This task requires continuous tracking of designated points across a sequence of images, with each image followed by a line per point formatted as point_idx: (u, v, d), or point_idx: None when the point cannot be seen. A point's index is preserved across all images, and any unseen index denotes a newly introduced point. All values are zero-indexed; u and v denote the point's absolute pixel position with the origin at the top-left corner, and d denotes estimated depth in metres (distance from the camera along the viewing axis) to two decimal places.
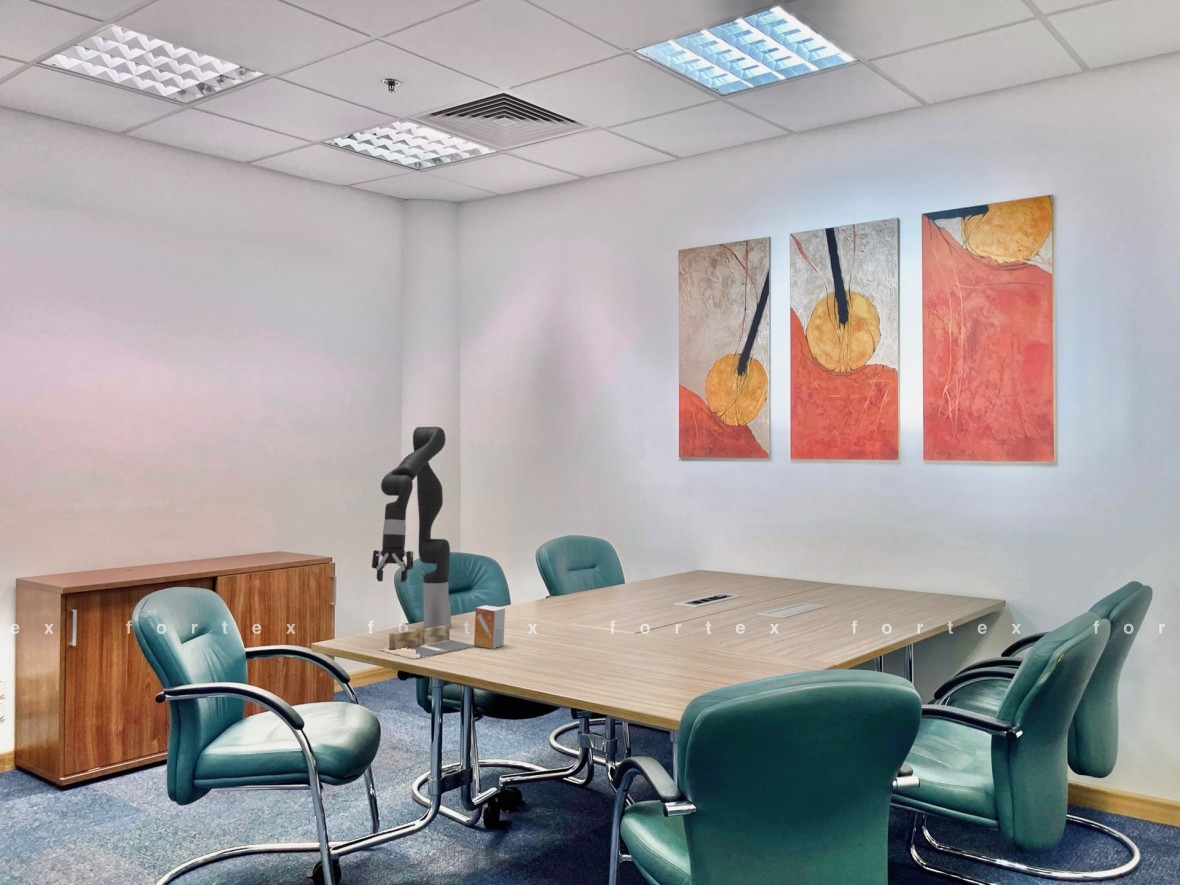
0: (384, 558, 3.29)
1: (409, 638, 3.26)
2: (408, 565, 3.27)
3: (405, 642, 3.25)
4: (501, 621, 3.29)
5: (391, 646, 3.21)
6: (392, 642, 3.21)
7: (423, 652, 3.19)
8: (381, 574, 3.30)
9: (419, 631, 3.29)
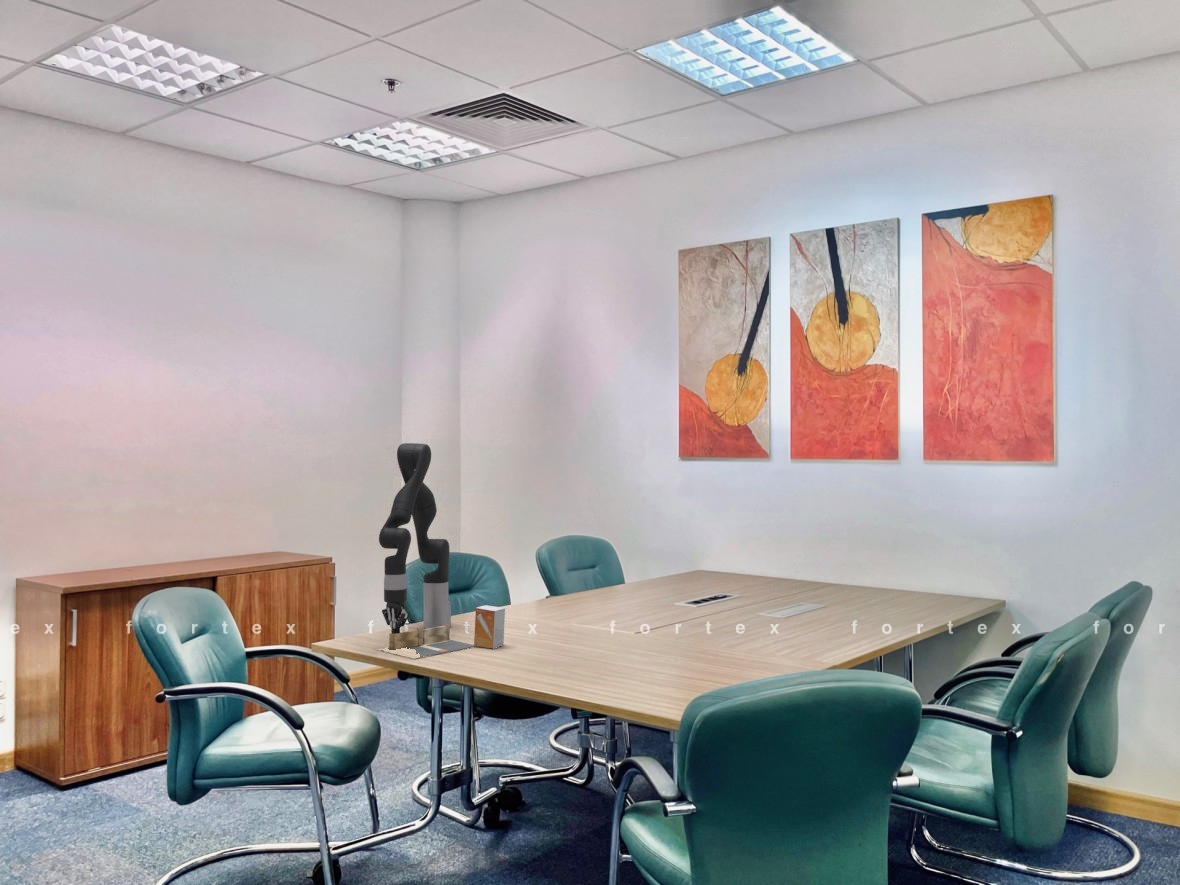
0: (389, 613, 3.26)
1: (409, 638, 3.26)
2: (397, 623, 3.23)
3: (405, 642, 3.25)
4: (501, 621, 3.29)
5: (391, 646, 3.21)
6: (392, 642, 3.21)
7: (423, 652, 3.19)
8: None
9: (419, 631, 3.29)
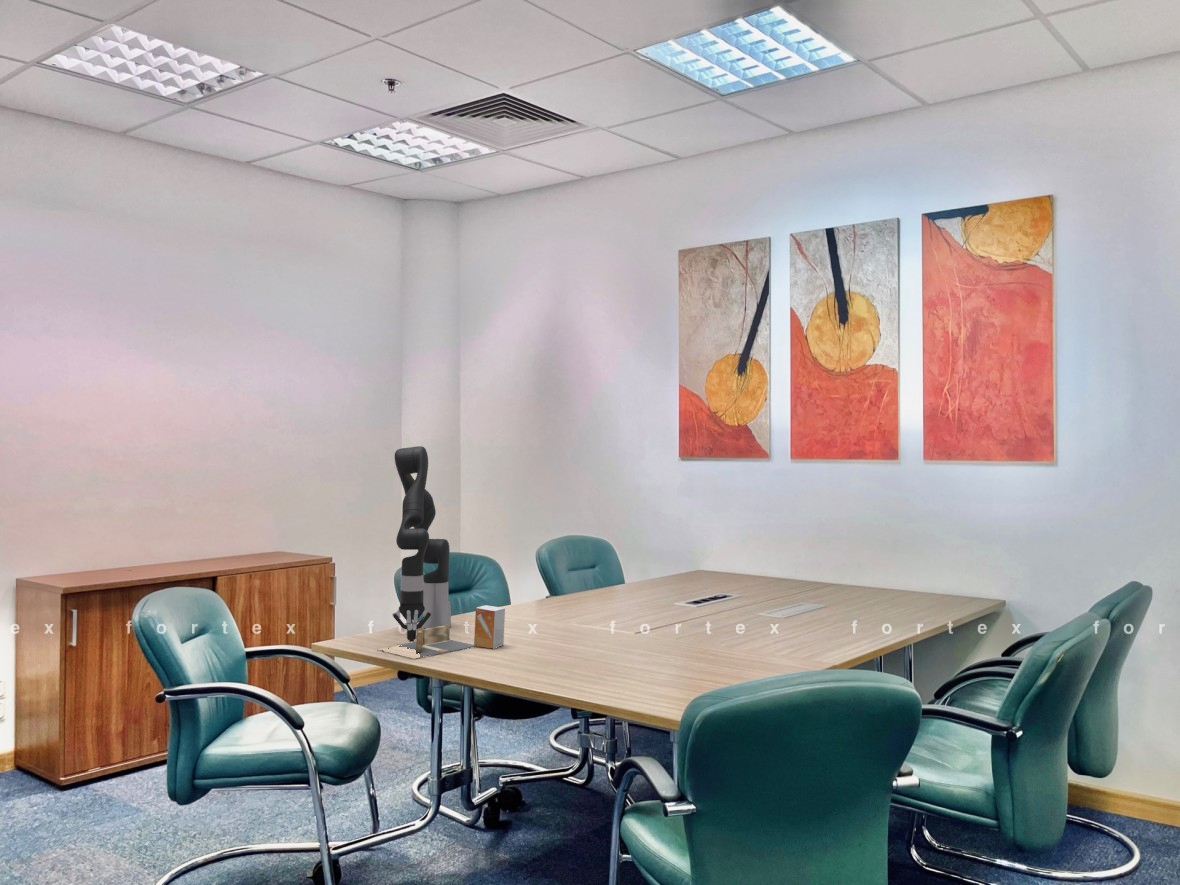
0: (408, 616, 3.20)
1: None
2: (420, 624, 3.21)
3: None
4: (501, 621, 3.29)
5: (421, 648, 3.18)
6: (421, 643, 3.19)
7: (423, 652, 3.19)
8: None
9: None
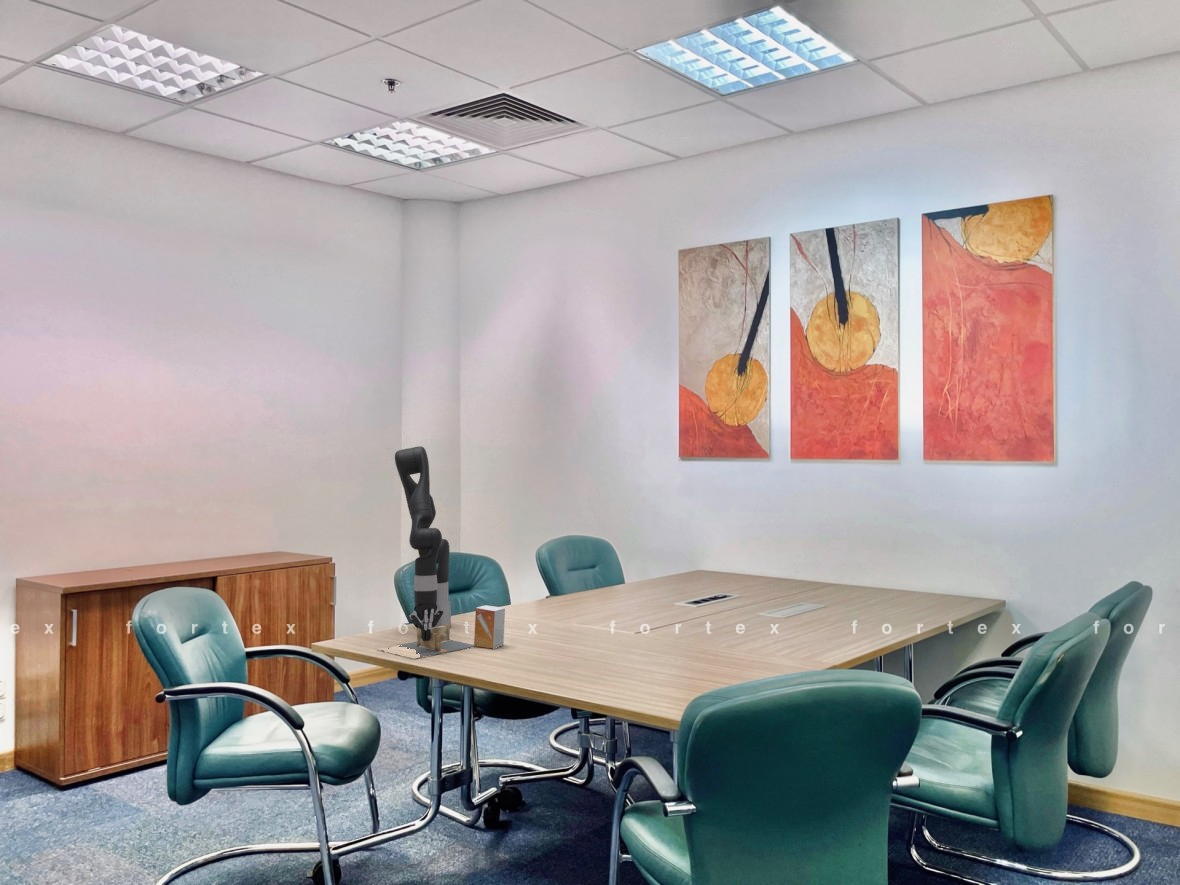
0: (425, 616, 3.20)
1: None
2: (434, 623, 3.23)
3: None
4: (501, 621, 3.29)
5: (440, 645, 3.21)
6: (440, 641, 3.22)
7: (423, 652, 3.19)
8: None
9: (419, 631, 3.29)
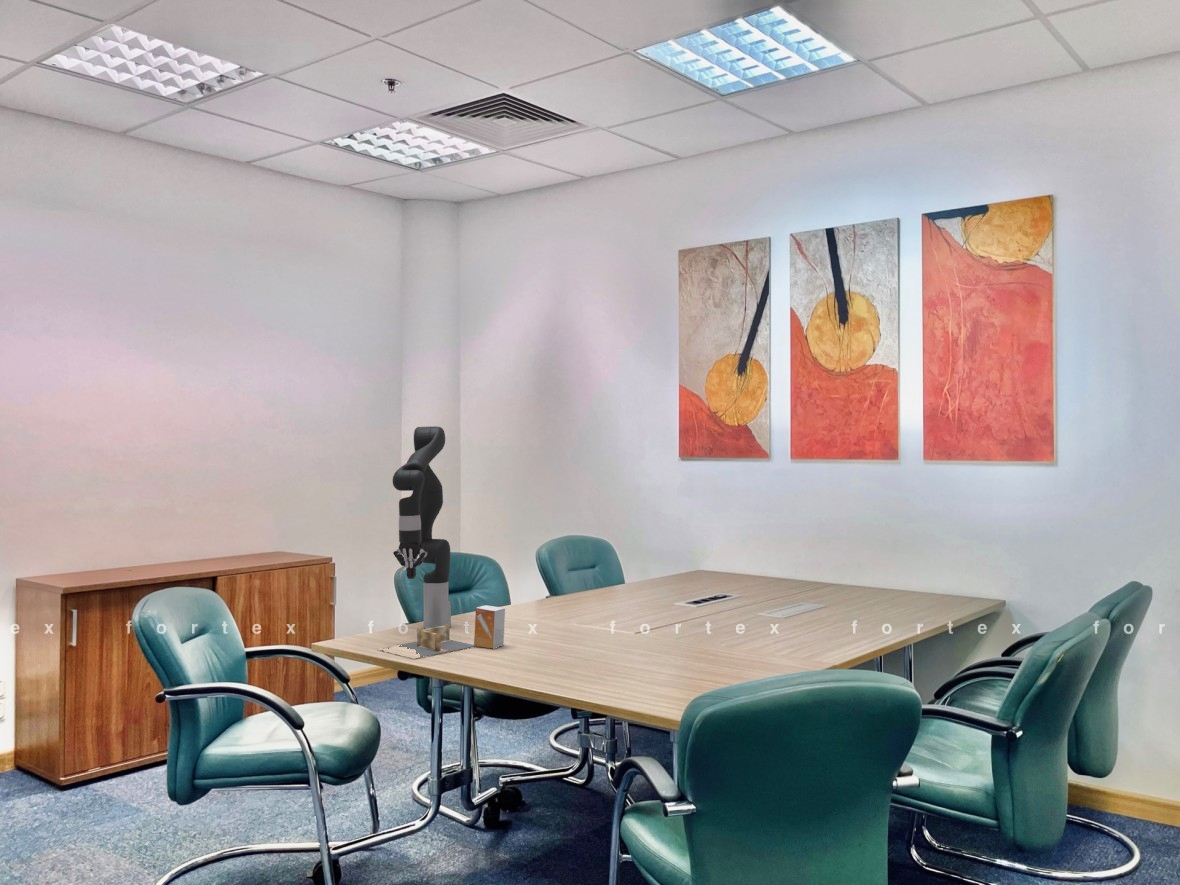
0: (405, 554, 3.32)
1: None
2: (415, 563, 3.32)
3: None
4: (501, 621, 3.29)
5: (440, 645, 3.21)
6: (440, 641, 3.22)
7: (423, 652, 3.19)
8: None
9: (419, 631, 3.29)
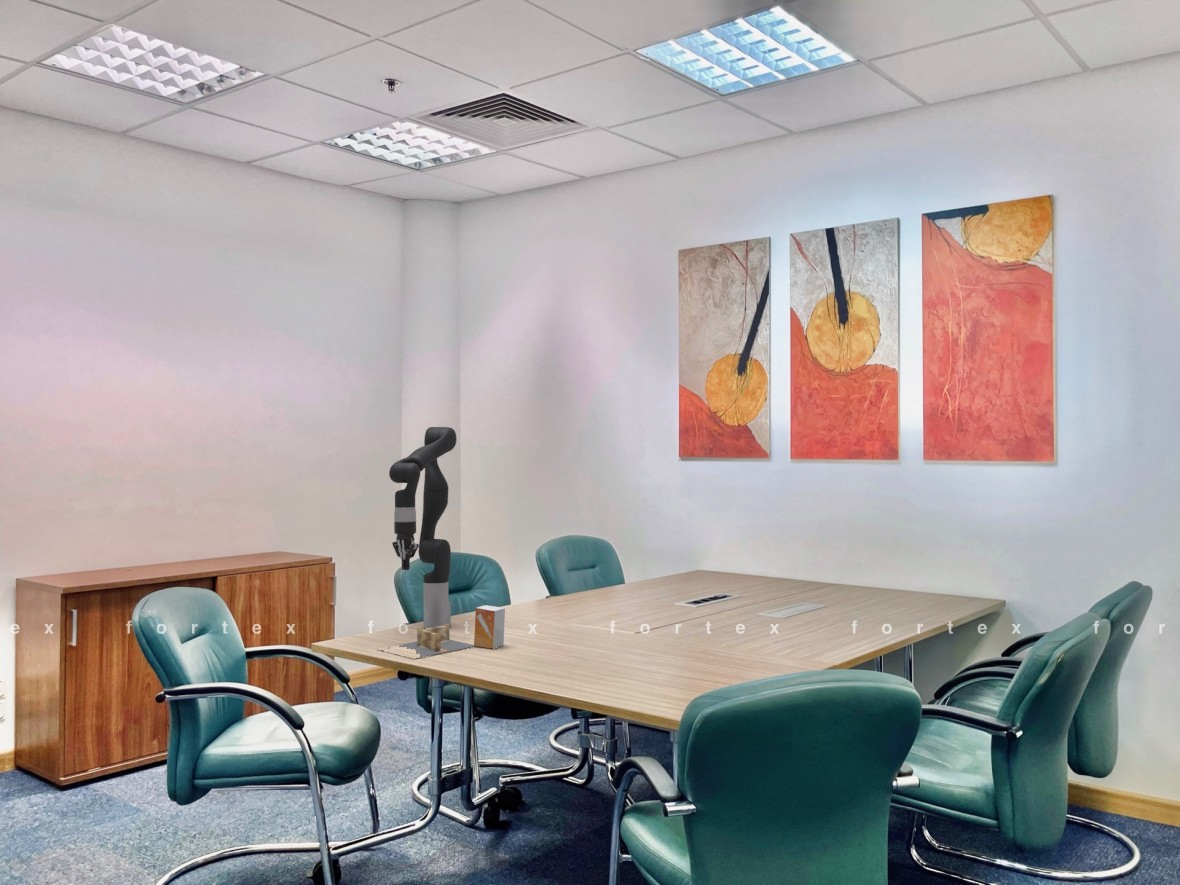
0: (399, 545, 3.39)
1: None
2: (407, 554, 3.37)
3: None
4: (501, 621, 3.29)
5: (440, 645, 3.21)
6: (440, 641, 3.22)
7: (423, 652, 3.19)
8: None
9: (419, 631, 3.29)
